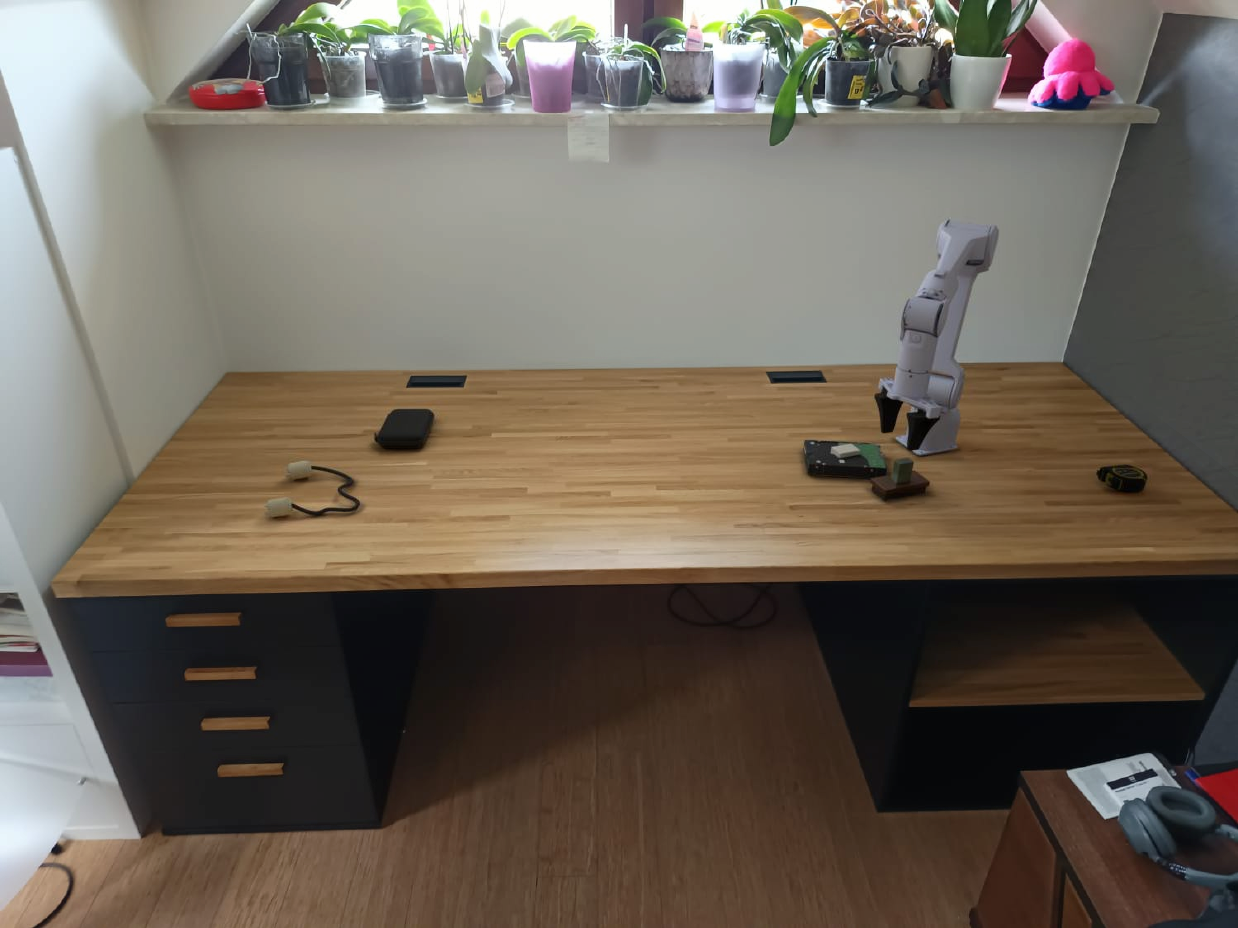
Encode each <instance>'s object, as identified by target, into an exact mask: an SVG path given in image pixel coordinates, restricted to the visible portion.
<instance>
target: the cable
mask: <svg viewBox="0 0 1238 928" xmlns="http://www.w3.org/2000/svg"><path fill="white" fill-rule="evenodd" d="M285 471H287V474H286V475H285V477H286V478H287V479H289V478H291V480H293V481H294V480H299V479H304V478H310V477H311V476H312V474H313V471H320V472H325V473H329V474H333V475H336V476H338V477H341V478H344V479H345V480H347V482H346V483H343V484H341V485H340V486H338V487H337V493H338V494H339V495H340V496H342V497H343V498H345V499H347V500H350V501H351V502H353V503H355V504H354V505H353V506H351V507H332V506H331V507H325V508H322V509H320V510H310V509H307V508H304V507H302V506H299V504H298V505H297V504H295V503H294V501H293V500H292V499H291V498H290V497H286V496H285V497H279V498H272V499H269V500H268V501H267V504H265V505H264V508H267V511H264V515H265V516H269V517H270V518H276V517H277V518H279V517H284V516H291V515H292V513H293V512H294V510H296V511H299V512H301V513H304V514H306V515H311V516H321V515H323V514H325V513H327V512H328V513H329V512H331V513H332V512H335V513H350V512H356V510H358V509H359V507H360V505H361V502H360V500H359V499H358V498H356V497H355V496H352V495H350V494H348V493H346V492H345V491H343V490H344V489H346V488H348V487H350V486H352V485H353V484H354V479H353V477H351V476H350V475H348V474H346V473H343V472H342V471H339V470H336V469H334V468H333V469H332V468H329V467H323V466H317V465H312V464H311V462H310V461H308V460H301V461H295V462H290V463H288V467H287V468H285Z"/></svg>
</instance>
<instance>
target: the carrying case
mask: <svg viewBox="0 0 1238 928" xmlns="http://www.w3.org/2000/svg"><path fill="white" fill-rule="evenodd" d="M434 421H435V413H434V412H433V411H432V410H431V409H429V408H394V409H393V410H391V411H390V413H387V416H386V417H385V420H384V422H383V423H382V425H381V427H380V430H379V432H378V434H377V432H376V431H375V432H374V434H373V438H374V442H375V443H376V444H378V445H379V446H381V448H384V449H418V448H421V447H422V446H423V445H424V444H425V443H426V441H427V439H428V436H429V434H430V431H431V429H432V426H433V424H434V423H433V422H434Z"/></svg>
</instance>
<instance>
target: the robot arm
mask: <svg viewBox="0 0 1238 928" xmlns="http://www.w3.org/2000/svg"><path fill="white" fill-rule="evenodd" d="M999 235H1000V229H999V228H998V226H997V225H993V224H992V225H988V224H980V223H972V222H963V221H956V220H951V219H948V218H946V219H945V220H943V221H942V222H941V224H940V225H939V228H938V231H937V235H936V239H935V252H936V257H937V259H938V263H937V266H936V268H935V269H932V270H929V272H927V273H926V274H925V277H924V279H923V280H922V282H921V284H920V286H919V288H918V290H917V292H916V294H915V296H913V297H912V299H911V298H908V299H907V300H906V302H905V304H904V305H903V308H902V312H901V317H900V318H901V319H900V333H899V341H900V347H899V351H898V358H897V363H896V369H895V374H894V379H892V378H891V377H883V378H881V377H880V378H879V383H878V386H877V389H878V390H879V391H880V392H878V393H875V394H874V401H875V403H876V405H877V409H878V412H879V422H880V423H879V424H880V433H882V434H890V433H891V434H893V433H894V430H895V428H896V424H897V420H898V418H899V417H898V416H899V413H900V411H901V409H902V406H903V405H904V403H906V404H907V405H909V406H910V410H909V412H906V419H907V426H906V432H905V435H898V436H895V441H897V442H899V443H900V444H901V445H902V446H904V447H906V450H908V451H909V452H912V453H913V454H915V455H916V456H918V457H920V456H927V455H932V454H937V453H942V452H948V451H954V450H957V449H958V448H959V447H958V445H956V442H957V437H958V433H959V428H960V424H961V418H962V417H961V411H960V408H959V407H958V406H959V403H960V401H961V397H962V394H963V389H964V381H965V377H966V373H965V369H964V368H963V367H962V366H961V364H959V362H958V361H957V360H956V359H955V355H956V352H957V348H958V343H959V340H960V336H961V332H962V328H963V326H964V322H965V321H964V320H965V317H966V313H967V309H968V306H969V302H970V298H971V294H972V290H973V287H974V283H975V282H976V279H977V278H978V275H979V274H981V273H986V272H988V271H989V270H990V267H991V266H992V263H993V260H994V257H995V252H996V249H997V246H998V242H999ZM934 371H935V372H934ZM943 373H944V374H943Z"/></svg>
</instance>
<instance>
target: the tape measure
mask: <svg viewBox="0 0 1238 928" xmlns="http://www.w3.org/2000/svg"><path fill="white" fill-rule="evenodd" d="M1095 475H1096V476H1097V479H1098V481H1099V482H1101V483H1105V485H1106V486H1107V487H1108V488H1109V489H1111V490H1114V491H1117V492H1118V493H1124V494H1137V493H1141V492H1143V491H1144V489H1145V487H1146V485H1147V482H1148V474H1147V473H1146V472H1145V471H1144V470H1143V469H1141V468H1138V467H1137V466H1134V465H1131V464H1117V465H1108V466H1102V467H1100V468H1099V469H1096V473H1095Z"/></svg>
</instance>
